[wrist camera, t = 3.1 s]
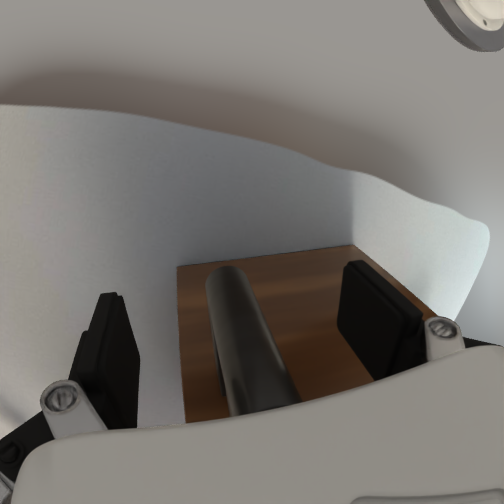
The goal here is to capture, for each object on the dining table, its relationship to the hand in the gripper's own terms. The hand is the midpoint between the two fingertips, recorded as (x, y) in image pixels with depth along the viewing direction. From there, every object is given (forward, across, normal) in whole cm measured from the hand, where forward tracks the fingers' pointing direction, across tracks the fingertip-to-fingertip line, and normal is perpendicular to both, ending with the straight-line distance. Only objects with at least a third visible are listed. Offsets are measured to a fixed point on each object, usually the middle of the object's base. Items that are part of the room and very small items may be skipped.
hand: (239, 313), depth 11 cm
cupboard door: (+17, -6, +3) cm, 19 cm away
